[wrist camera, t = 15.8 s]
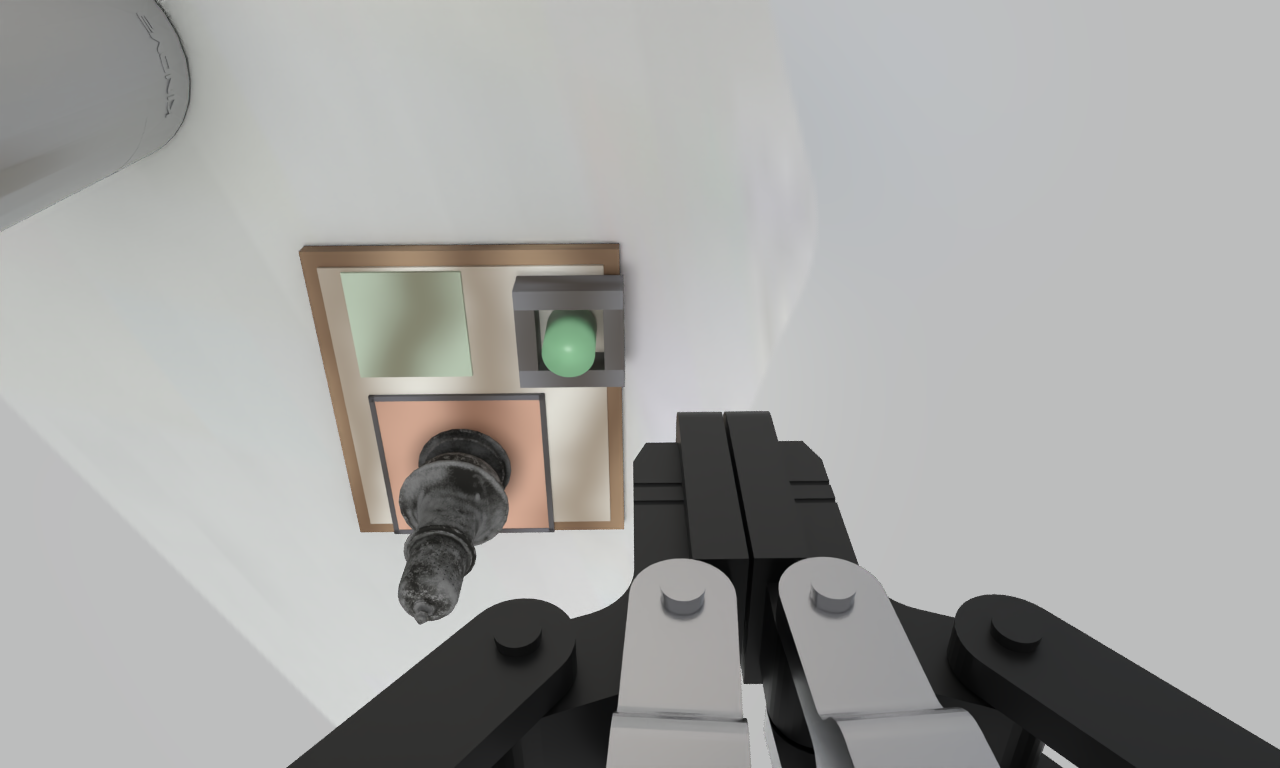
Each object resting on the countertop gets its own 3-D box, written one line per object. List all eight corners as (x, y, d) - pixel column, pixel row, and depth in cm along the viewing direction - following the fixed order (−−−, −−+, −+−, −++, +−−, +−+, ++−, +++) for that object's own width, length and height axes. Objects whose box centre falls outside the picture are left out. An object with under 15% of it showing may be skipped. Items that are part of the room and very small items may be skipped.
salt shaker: (429, 513, 49) (376, 676, 39) (400, 431, 46) (334, 584, 36) (526, 500, 49) (499, 661, 39) (502, 417, 46) (466, 566, 36)
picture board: (364, 523, 51) (350, 556, 49) (303, 246, 42) (282, 268, 40) (627, 520, 51) (627, 553, 49) (623, 243, 42) (622, 265, 40)
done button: (548, 349, 44) (543, 377, 41) (545, 304, 42) (539, 330, 40) (597, 349, 44) (595, 377, 41) (596, 303, 42) (594, 329, 40)
